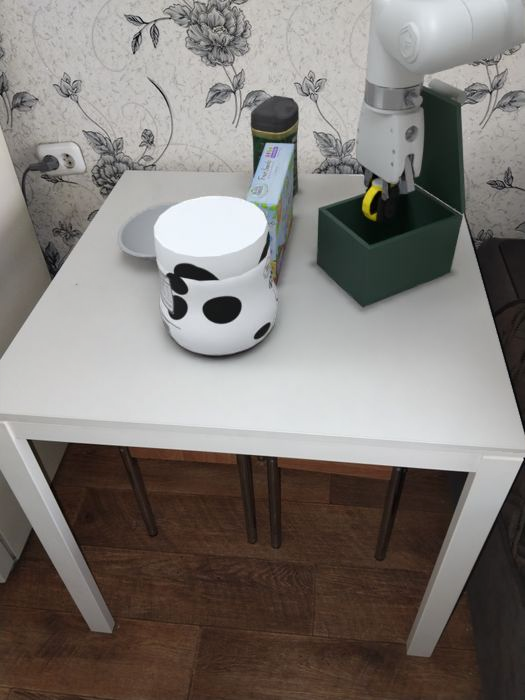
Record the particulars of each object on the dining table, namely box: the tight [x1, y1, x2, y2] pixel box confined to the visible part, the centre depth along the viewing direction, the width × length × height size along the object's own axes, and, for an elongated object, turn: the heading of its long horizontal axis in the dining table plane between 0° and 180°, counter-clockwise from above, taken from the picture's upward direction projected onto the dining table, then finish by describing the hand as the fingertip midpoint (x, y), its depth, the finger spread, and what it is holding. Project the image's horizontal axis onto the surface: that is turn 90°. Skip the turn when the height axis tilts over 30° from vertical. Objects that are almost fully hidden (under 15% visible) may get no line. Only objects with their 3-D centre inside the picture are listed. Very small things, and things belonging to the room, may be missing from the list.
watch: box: [362, 178, 394, 221], centre depth 89 cm, size 6×3×6 cm, turn 124°
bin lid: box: [413, 78, 468, 215], centre depth 88 cm, size 18×14×5 cm
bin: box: [316, 184, 464, 308], centre depth 96 cm, size 18×14×11 cm
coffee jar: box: [250, 95, 300, 197], centre depth 112 cm, size 10×8×19 cm
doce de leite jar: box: [154, 195, 279, 357], centre depth 84 cm, size 17×17×18 cm
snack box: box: [245, 143, 295, 286], centre depth 100 cm, size 21×6×15 cm, turn 171°
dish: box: [116, 201, 182, 261], centre depth 104 cm, size 18×14×5 cm
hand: (379, 213), depth 91 cm, fingers closed on watch, 2 cm apart
